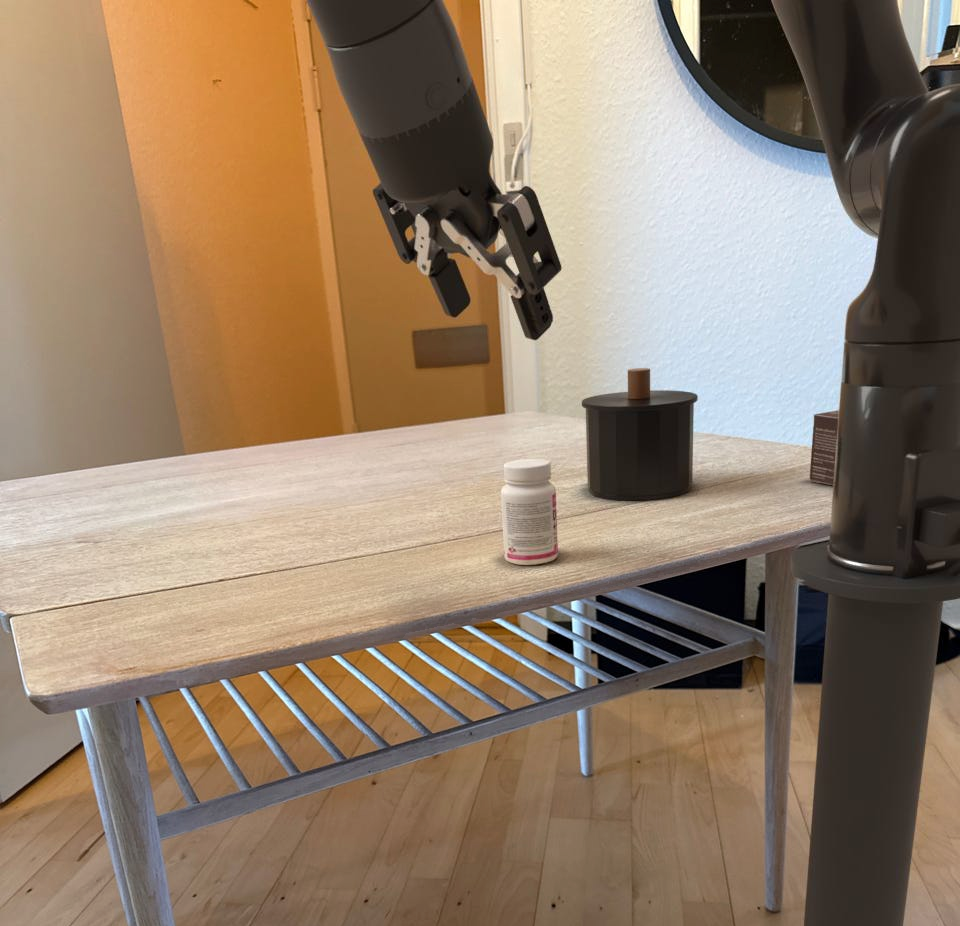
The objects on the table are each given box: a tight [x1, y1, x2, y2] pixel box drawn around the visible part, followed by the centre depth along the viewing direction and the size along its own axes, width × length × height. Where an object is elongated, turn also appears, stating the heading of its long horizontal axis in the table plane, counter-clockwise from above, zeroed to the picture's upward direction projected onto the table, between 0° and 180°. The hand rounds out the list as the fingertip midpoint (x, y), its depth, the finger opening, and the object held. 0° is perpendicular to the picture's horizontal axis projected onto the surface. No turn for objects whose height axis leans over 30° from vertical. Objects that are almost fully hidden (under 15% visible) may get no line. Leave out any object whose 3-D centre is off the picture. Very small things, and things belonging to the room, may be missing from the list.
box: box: [809, 409, 839, 486], centre depth 98 cm, size 6×6×7 cm
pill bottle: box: [500, 458, 559, 566], centre depth 79 cm, size 5×5×8 cm
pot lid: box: [581, 367, 699, 411], centre depth 99 cm, size 12×12×4 cm
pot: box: [585, 403, 695, 502], centre depth 101 cm, size 11×11×10 cm
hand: (498, 320), depth 67 cm, fingers open, 8 cm apart
